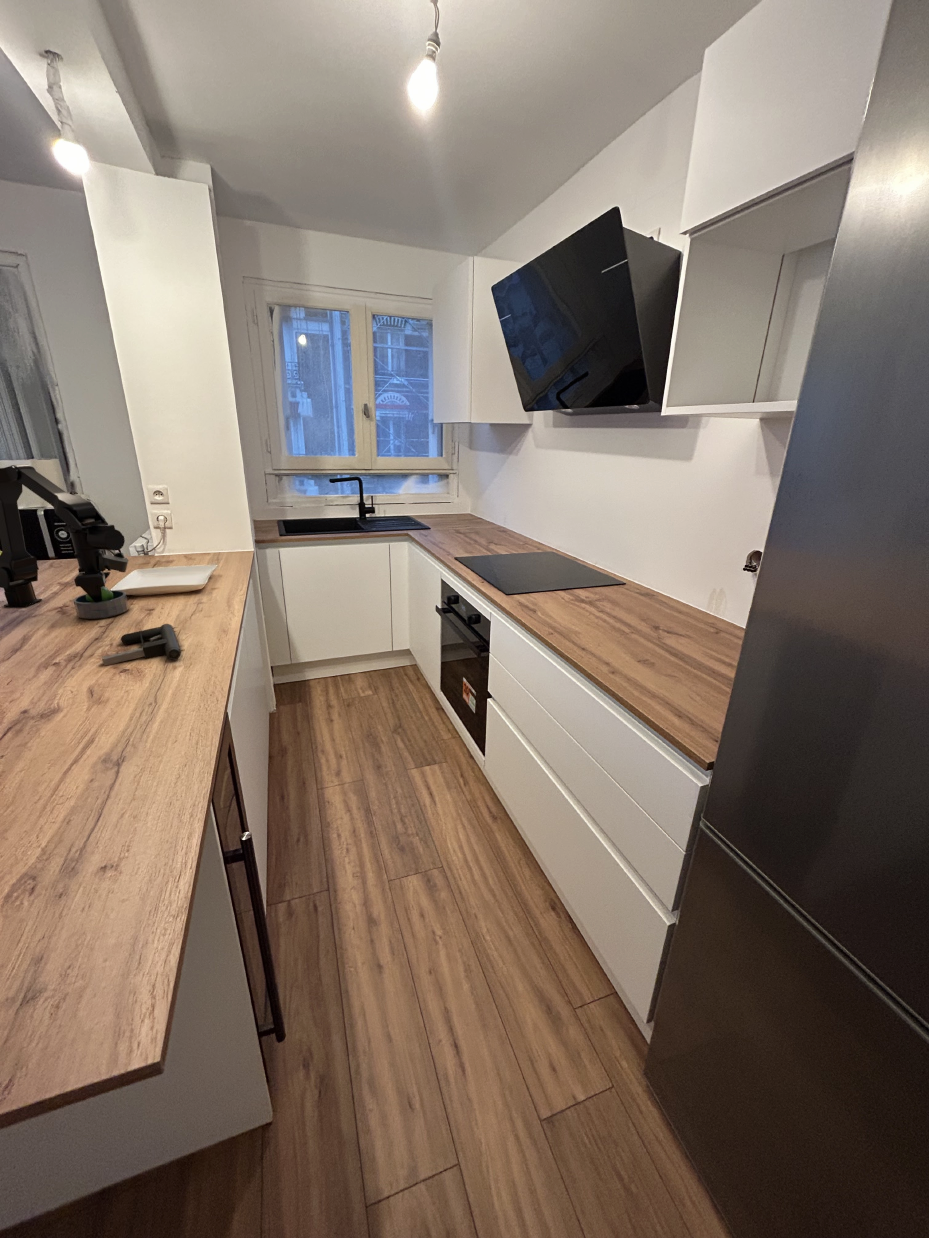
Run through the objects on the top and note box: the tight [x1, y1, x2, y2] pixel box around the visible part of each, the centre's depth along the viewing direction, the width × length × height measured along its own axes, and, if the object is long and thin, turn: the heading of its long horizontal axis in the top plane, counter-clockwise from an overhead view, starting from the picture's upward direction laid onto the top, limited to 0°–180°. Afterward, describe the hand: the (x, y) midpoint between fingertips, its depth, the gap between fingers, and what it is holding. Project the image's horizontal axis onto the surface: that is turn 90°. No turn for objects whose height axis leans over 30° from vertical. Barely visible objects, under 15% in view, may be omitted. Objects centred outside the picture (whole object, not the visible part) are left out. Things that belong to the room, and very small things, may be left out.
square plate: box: [109, 564, 218, 597], centre depth 166 cm, size 27×27×4 cm
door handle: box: [101, 623, 184, 667], centre depth 115 cm, size 3×20×16 cm
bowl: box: [72, 590, 130, 620], centre depth 139 cm, size 12×12×5 cm
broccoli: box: [85, 586, 113, 603], centre depth 139 cm, size 6×5×8 cm
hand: (101, 601), depth 139 cm, fingers open, 6 cm apart
